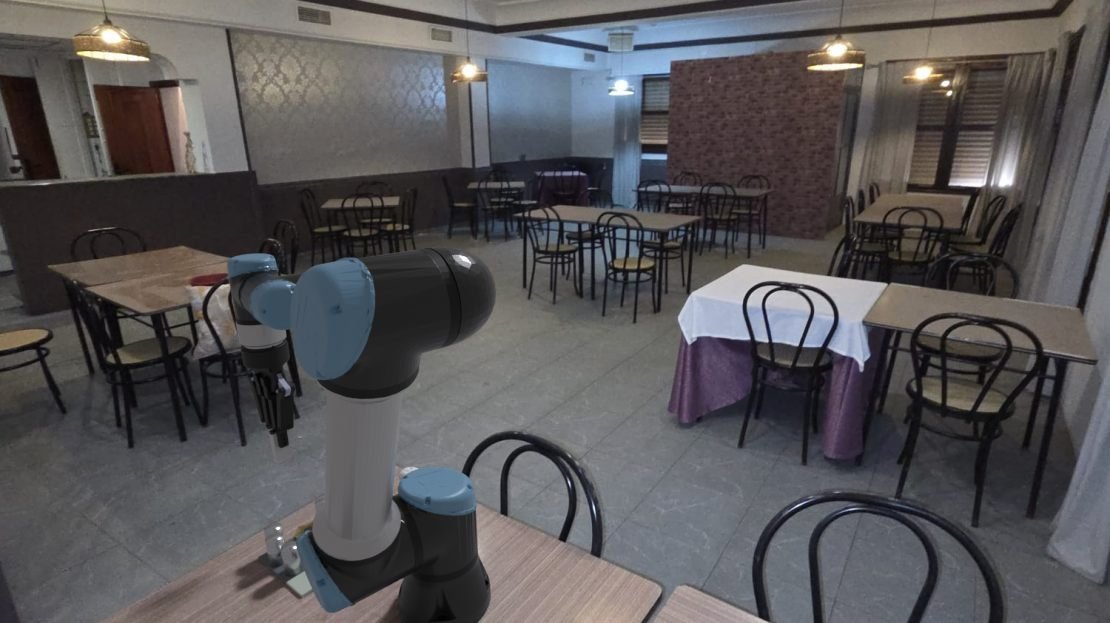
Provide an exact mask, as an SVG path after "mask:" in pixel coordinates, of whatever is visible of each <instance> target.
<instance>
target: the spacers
mask: <svg viewBox="0 0 1110 623" xmlns="http://www.w3.org/2000/svg"><path fill="white" fill-rule="evenodd" d="M324 502H325V496H323V497H320V498H317V499H316V500H315V501H314V509H315V514H316V513H317V511H318V509H319V508H320V507H321V506H322V505H323V503H324ZM263 532H264V536H265V537H264V538H265V539H264V542H265V543H264V544H265V548H266V552H267V555H268V560H269V565H270V566H271V567H278V566H281V565H283V566H284V572H285V575H286V576H288V577H292V576H296V575H298V574H299V573H301V572H302V570H303V565H302V563H301V560H300V557H299V554H298V551H297V547H296V541H291V542H288V543H286V544H285V542H286V541H285V536H284V529H283V524H282V523H281V522H272V523H269V524H267V525H266V526H265V527H264V529H263Z"/></svg>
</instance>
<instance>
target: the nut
mask: <svg viewBox="0 0 1110 623" xmlns="http://www.w3.org/2000/svg"><path fill="white" fill-rule="evenodd" d="M312 527H313V521H310V522H307V523H305V524H301V525H300V526H297V528H296V531H295V533H294V536H293V538H294V541H296V540H297V538H298V537H299V536H300V535H302V534H304V532H305V531H307V530H310V531H311V530H312Z"/></svg>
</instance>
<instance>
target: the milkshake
mask: <svg viewBox="0 0 1110 623" xmlns="http://www.w3.org/2000/svg"><path fill="white" fill-rule="evenodd" d="M422 468H425V466H424V467H422ZM416 469H419V468H418V467H415V466H407V467H404V468H403V469H401V471H400V472H399V473H398V481H399V482H400V481H401V479H402V478H403V477H404V476H405V475H406V474H407V473H409V472H411V471H414V470H416Z"/></svg>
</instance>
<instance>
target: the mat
mask: <svg viewBox="0 0 1110 623" xmlns="http://www.w3.org/2000/svg"><path fill="white" fill-rule="evenodd" d="M291 541H294V537H292V538H290V539H288V540H287V541H285V544H286V543H288V542H291ZM258 561H259V562H261V563H262V564H263V565H264V566H265V567H266V568H268V569H269V570H270V571H271V572H272V573H273V574H274V575H276V576H277V577H278V578H279V579H280V580H282V582H283V583H285V584H286V585H287V586H288V587H289V588H290V589H291V590H292V591H294V592H295V594H297V595H298V596H300V597H301V598H304V597H305V596H307V595H309V594H311V593H313V590H312V587H311V585H310V583H309V580H308V578H307V576H306V573H305V571H304V568H303V570H302V572H301V573H299V574H298V575H296V576H292V577H288V576H286V575H285V572H284V566H283V565H281V566H278V567H271V566H270V565H269V560H268V555H267V551H266V552H264V553H263V554H260V555H259V556H258Z"/></svg>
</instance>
